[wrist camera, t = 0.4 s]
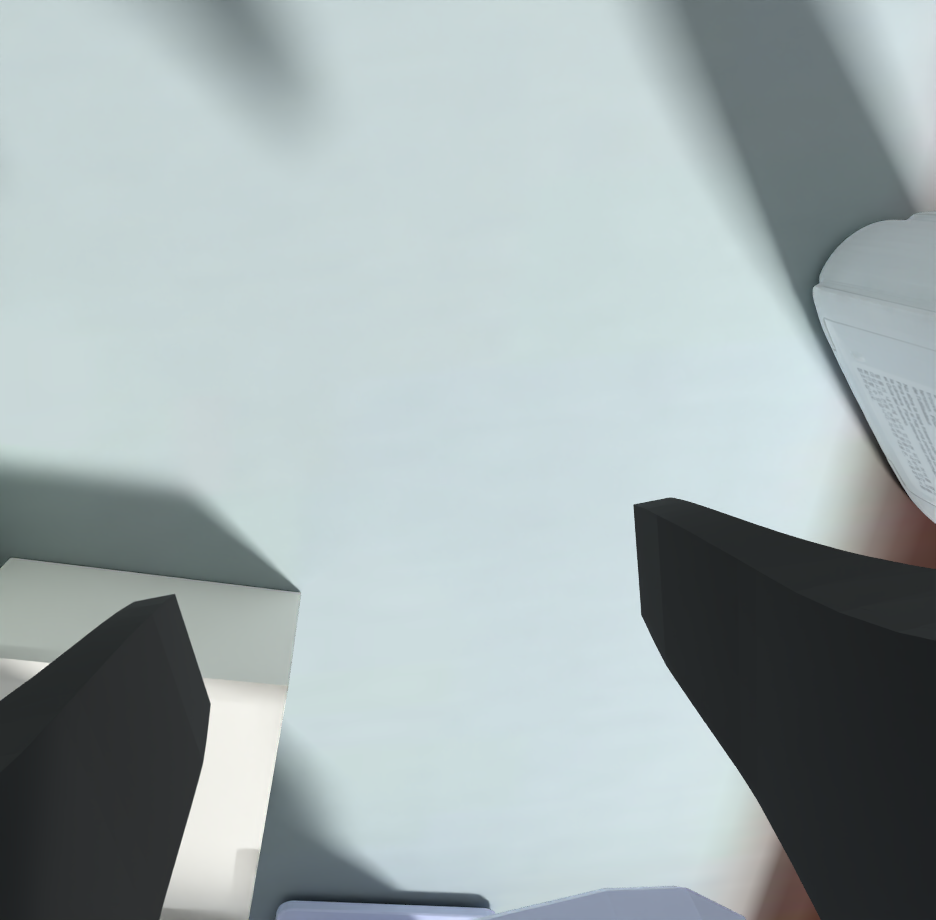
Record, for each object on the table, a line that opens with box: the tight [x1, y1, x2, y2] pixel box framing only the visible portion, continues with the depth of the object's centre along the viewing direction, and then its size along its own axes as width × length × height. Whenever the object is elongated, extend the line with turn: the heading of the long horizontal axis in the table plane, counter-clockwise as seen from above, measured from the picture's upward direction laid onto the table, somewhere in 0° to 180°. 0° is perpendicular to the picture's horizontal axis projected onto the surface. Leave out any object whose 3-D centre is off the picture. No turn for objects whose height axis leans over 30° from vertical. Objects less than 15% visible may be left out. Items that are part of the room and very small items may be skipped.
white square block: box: [0, 557, 301, 920], centre depth 21 cm, size 8×8×4 cm
